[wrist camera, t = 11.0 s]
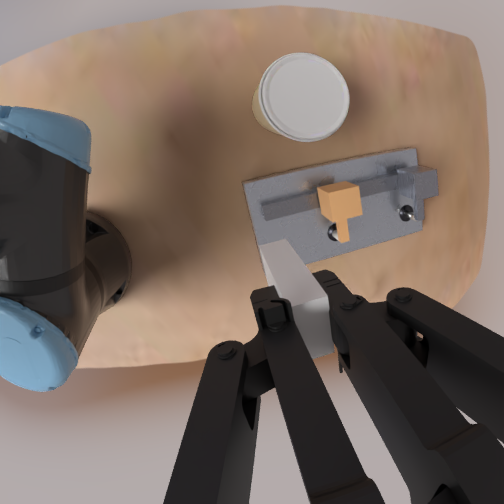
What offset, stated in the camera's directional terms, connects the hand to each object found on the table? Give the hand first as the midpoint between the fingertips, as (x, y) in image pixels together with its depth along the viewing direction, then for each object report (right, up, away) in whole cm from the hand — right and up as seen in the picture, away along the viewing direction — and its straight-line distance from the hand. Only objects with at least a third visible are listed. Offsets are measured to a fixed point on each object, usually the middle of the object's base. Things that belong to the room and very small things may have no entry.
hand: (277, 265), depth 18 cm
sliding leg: (+9, +6, +25) cm, 27 cm away
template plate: (+11, +7, +27) cm, 30 cm away
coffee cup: (+2, +20, +22) cm, 29 cm away
